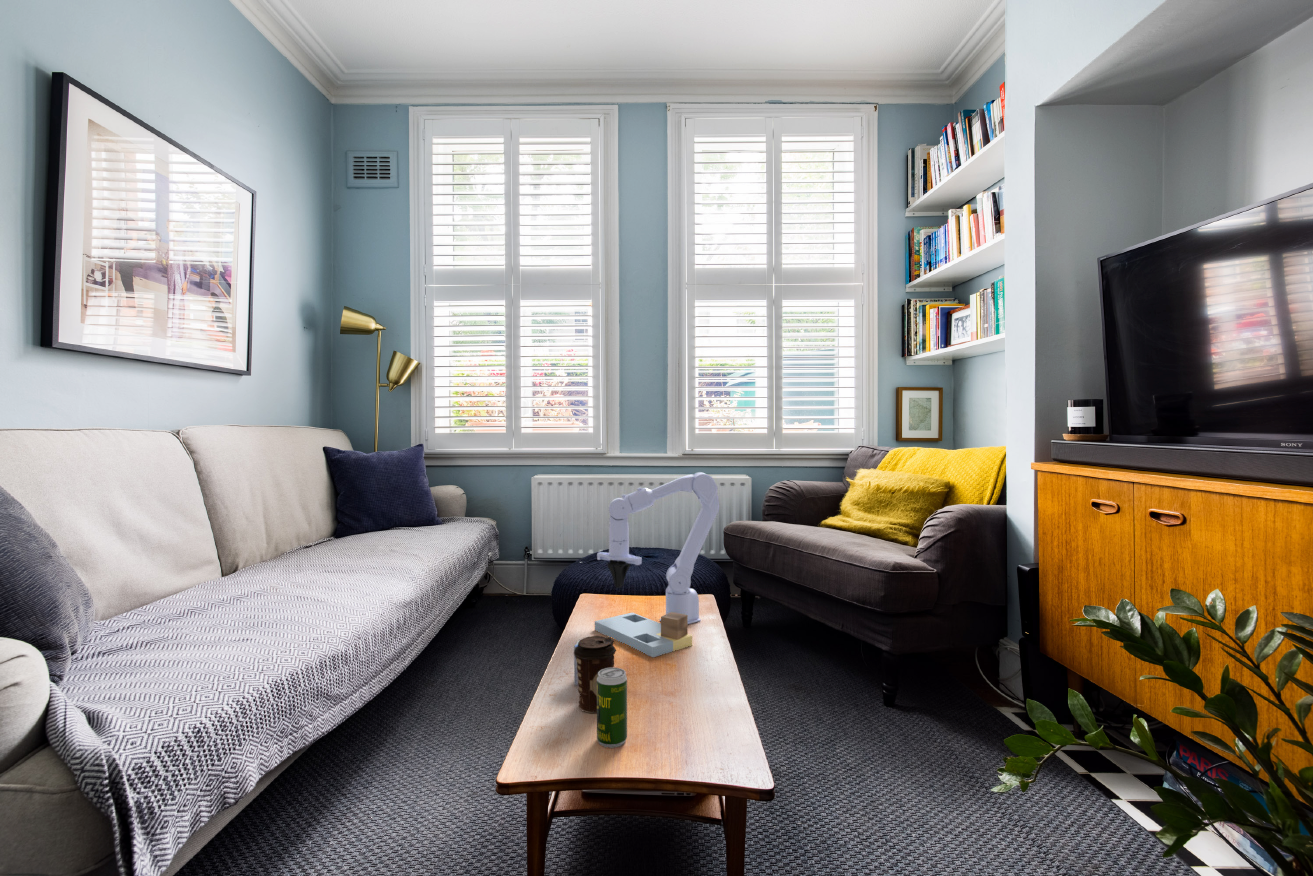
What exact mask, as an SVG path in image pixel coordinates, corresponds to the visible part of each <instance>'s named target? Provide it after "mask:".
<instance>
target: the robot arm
mask: <svg viewBox="0 0 1313 876" xmlns="http://www.w3.org/2000/svg"><path fill="white" fill-rule="evenodd" d="M718 489H719V488H718V485H717V483H716V481H715V479H714V478H713V477H712V476H711V475H709V474H707V473H704V472H703V471H702V472H701V471H698V472H695V473H693V474H687V475H684V476H681V477H678V478H676V479H673V480H672V481H668V482H666V483H664V484H662V485H659V486H657V487H655V488H653V489H649V488H647V487H643V488H642V487H637V488H636V490H635V491H633V492H631V493H628V494H625V493H624V494H621V497H617V498H614V499H612V500H611V502H610V503H609V506H608V511H609V513H608V514H609V518H608V519H609V525H608V552H606V551H605V552H603V551H599V552H597V554H596V557H597V558H596V559H597V560H598V561H600V560H603V561H608V563H607V564H606V566H607V569H608V570H609V571H610V574H611V576H612V580H613V583H614V587H615V588H618V589H620V588H622V587H624V583H625V578H626V575H627V573H628V570H629V568H630V567H631V565H634V566H640V565H642V564H643V563H642V562H643V559H642V556H641V557H640V556H637V555H636V556H635V555H633V554H631V553H630V538H629V537H630V530H629V528H630V524H629V520H628V519H629V515H630V514H636V513H638V512H640V511H641V512H642V511H643V510H646V509H648V508H650V507H652V506H653V505H654V503H655V501H657V500H660V499H662V498H664V497H667V496H670V495H672V494H677V493H678V492H686V493H694V494H695V495H696V496H697V499H698V501H699V504H700V506H701V508H700V510H699V512H698V514H697V516H696V519H695V520H694V523H693V524H692V527H691V529H690V531H689V534H688V535H687V538H686V540H685V543H684V544H683V547H682V549H681V551H680V553H679V556H677V558H676V559H675V561H674V563H673V564H672V565H671V566H670V567H668V569H667V571H666V574H665V578H666V580H667V582H668V585H667V587H666V588H665V615H666V614H668V613H670V612H674V613H680V614H685V615H687V625H690V624H694V623H697V622H701V621H702V619H701V618H700V614H699V613H700V608H699V607H700V606H699V605H700V603H699V602H700V599H699V594H698V593H697V591H696V590H695V589H694V588H691V583H692V581H691V579H692V578H691V576H692V575H693V573H694V567H695V563H696V560H697V559H698V557H699V554H700V552H701V549H702V548H703V546H704V543H705V541H706V539H707V536H708V534H709V533H710V530H711V528H712V526H713V524H714V521H715V519H716V517H717V515H718V513H719V511H720V500H719V493H718ZM659 621H660V622H661V618H659Z"/></svg>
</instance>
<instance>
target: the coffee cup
mask: <svg viewBox="0 0 1313 876" xmlns="http://www.w3.org/2000/svg"><path fill="white" fill-rule="evenodd" d="M579 640H580V641H579V642H578V641H577V642H578V646H577V647H576V648H575V650H574V649H573V656H574V655H575V657H576V660H577V672H578V685H577V686H578V689H577V690H578V693H579V701H578V707H579V709H580V710H581V711H582V710H583V711H582V712H584V711H585V712H584V713H588V714H589V713H590V714H591V713H593V714H594V713H596V714H597V677H598V672H599V671H600V670H602V669H605V668H615V654H616V652H617V649H616V648H615V646H614V643H615V639H612V638H610V637H608V636H605V635H604V636H602V635H593V636H587V637H583V638H581V639H579Z"/></svg>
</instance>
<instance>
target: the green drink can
mask: <svg viewBox="0 0 1313 876" xmlns="http://www.w3.org/2000/svg"><path fill="white" fill-rule="evenodd" d="M596 739H597V742H598V744H599V745H600V746H601V745H602V746H601V747H603V746H604V748H606V747H609V748H608V749H614V747H615V748H619V747H621V746H623V745H624V744H625V743H626V740H627V739H628V677H627V673H626V670H625V669H623V668H621V667H614V668H605V669H602V670H600V671H599V672H598V677H597V712H596Z"/></svg>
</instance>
